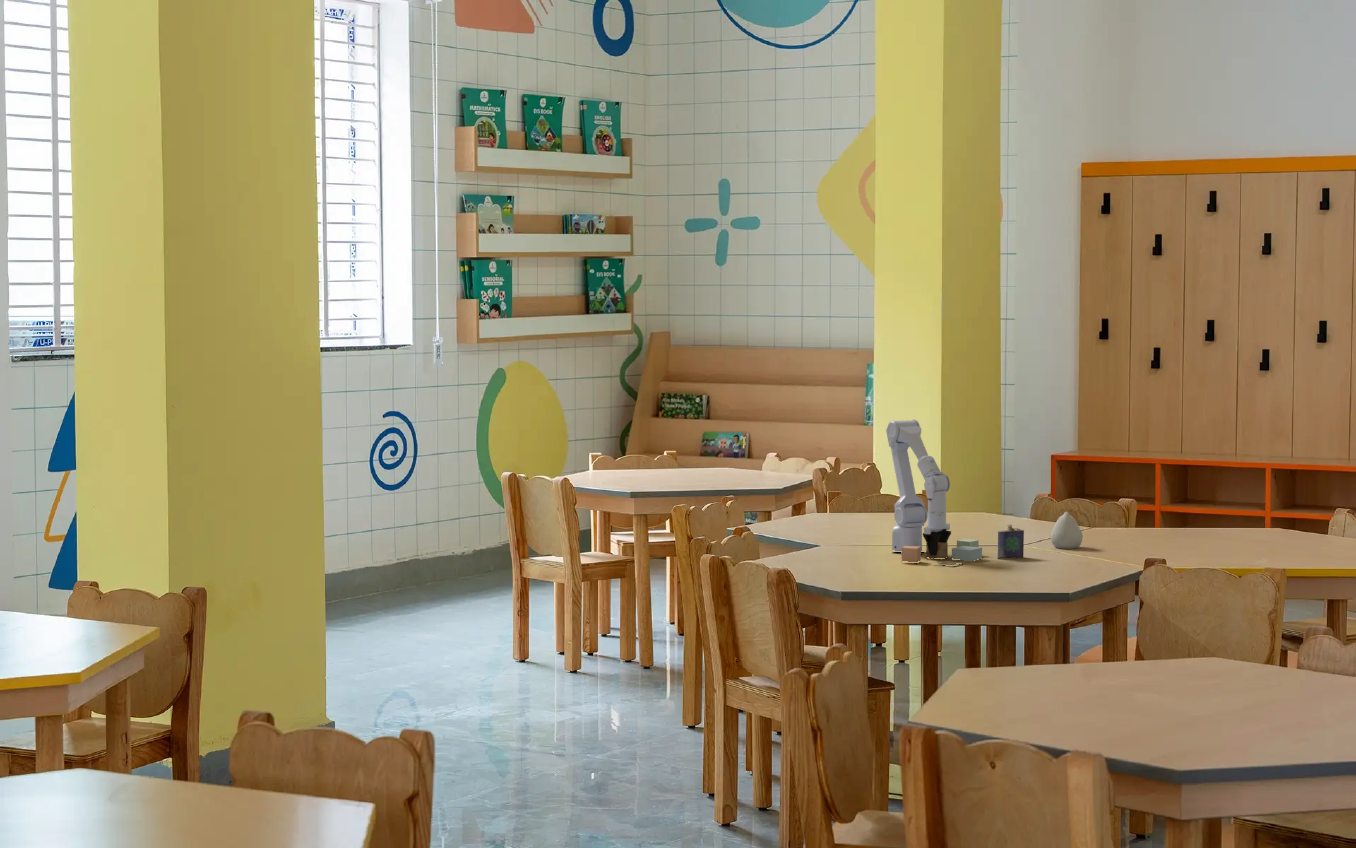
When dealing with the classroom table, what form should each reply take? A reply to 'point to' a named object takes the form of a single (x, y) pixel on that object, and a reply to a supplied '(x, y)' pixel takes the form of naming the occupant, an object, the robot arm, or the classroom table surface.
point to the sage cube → (968, 543)
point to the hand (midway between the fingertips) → (937, 554)
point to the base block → (967, 553)
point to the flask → (1010, 543)
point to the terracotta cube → (911, 553)
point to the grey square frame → (947, 563)
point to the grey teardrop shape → (1066, 533)
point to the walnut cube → (939, 551)
